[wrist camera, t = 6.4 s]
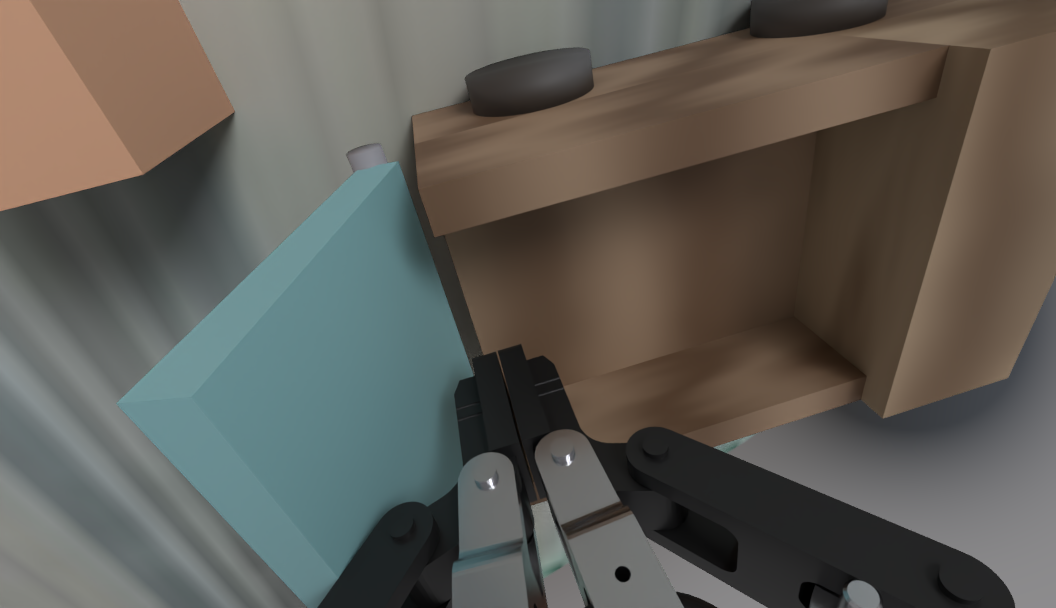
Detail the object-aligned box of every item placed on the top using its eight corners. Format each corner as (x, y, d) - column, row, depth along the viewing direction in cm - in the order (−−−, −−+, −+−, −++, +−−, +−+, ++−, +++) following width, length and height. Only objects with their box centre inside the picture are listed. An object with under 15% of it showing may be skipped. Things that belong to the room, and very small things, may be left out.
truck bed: (879, -36, 18) (1211, -58, 11) (827, 281, 26) (998, 397, 19) (402, 86, 17) (403, 157, 10) (496, 381, 25) (538, 548, 17)
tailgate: (401, 138, 14) (172, 374, 6) (500, 427, 21) (450, 716, 13) (354, 146, 15) (76, 384, 7) (466, 430, 21) (397, 714, 13)
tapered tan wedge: (91, -173, 13) (-179, -319, 7) (235, 111, 16) (143, 174, 11) (-117, -130, 12) (-589, -245, 6) (80, 149, 16) (-102, 237, 10)
